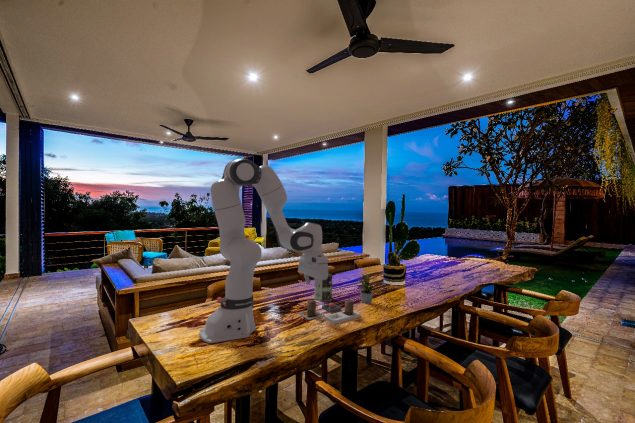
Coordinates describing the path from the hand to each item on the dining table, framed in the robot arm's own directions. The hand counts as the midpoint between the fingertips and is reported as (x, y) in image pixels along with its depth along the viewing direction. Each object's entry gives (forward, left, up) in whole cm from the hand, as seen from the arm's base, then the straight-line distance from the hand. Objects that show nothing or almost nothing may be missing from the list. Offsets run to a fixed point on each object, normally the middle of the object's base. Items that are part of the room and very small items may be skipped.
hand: (312, 285), depth 141 cm
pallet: (+10, -11, -15) cm, 21 cm away
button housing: (+13, +1, -15) cm, 20 cm away
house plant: (+37, +2, -15) cm, 40 cm away
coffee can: (+21, +19, -15) cm, 32 cm away
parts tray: (0, 0, -15) cm, 15 cm away
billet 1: (0, 0, -15) cm, 15 cm away
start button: (+13, +1, -14) cm, 19 cm away
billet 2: (+14, -11, -14) cm, 23 cm away
